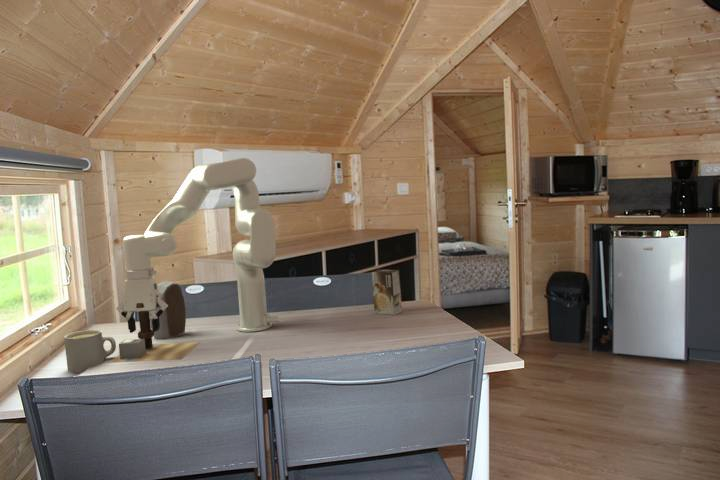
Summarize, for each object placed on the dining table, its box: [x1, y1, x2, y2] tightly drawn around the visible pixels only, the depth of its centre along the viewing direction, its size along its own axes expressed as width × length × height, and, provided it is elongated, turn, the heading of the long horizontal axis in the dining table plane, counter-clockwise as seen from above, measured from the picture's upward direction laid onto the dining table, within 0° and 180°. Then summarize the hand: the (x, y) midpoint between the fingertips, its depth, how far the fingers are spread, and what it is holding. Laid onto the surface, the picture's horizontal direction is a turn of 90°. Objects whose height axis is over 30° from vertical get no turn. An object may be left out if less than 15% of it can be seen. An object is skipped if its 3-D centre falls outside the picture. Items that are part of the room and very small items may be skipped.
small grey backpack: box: [149, 280, 187, 340], centre depth 201 cm, size 15×8×20 cm, turn 163°
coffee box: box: [371, 268, 403, 316], centre depth 220 cm, size 9×6×16 cm
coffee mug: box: [63, 329, 117, 374], centre depth 173 cm, size 13×10×10 cm
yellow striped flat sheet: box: [107, 341, 202, 363], centre depth 179 cm, size 22×18×2 cm
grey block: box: [118, 338, 146, 359], centre depth 176 cm, size 6×4×5 cm
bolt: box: [136, 303, 154, 349], centre depth 183 cm, size 6×5×15 cm
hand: (144, 330), depth 183 cm, fingers open, 6 cm apart
